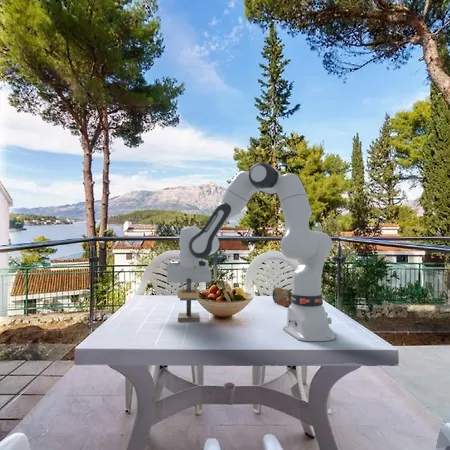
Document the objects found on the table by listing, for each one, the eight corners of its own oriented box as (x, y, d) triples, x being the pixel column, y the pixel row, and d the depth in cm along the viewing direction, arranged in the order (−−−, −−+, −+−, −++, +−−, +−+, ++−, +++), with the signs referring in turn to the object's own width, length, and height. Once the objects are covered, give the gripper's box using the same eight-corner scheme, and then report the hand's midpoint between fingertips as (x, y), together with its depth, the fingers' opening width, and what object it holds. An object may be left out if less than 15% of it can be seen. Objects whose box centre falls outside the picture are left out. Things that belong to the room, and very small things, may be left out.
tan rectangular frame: (199, 297, 163) (199, 293, 163) (177, 298, 162) (177, 293, 162) (199, 291, 177) (199, 287, 177) (179, 291, 176) (179, 287, 176)
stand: (199, 321, 163) (199, 280, 162) (177, 321, 162) (177, 280, 162) (199, 315, 172) (199, 277, 171) (178, 316, 171) (178, 277, 171)
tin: (271, 302, 200) (271, 286, 200) (276, 301, 202) (277, 285, 202) (288, 308, 187) (288, 291, 187) (293, 307, 188) (293, 290, 188)
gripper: (165, 262, 170) (165, 293, 170) (211, 262, 171) (211, 293, 171) (166, 261, 176) (166, 291, 176) (211, 260, 177) (211, 290, 178)
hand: (189, 292), depth 174 cm, fingers open, 3 cm apart
